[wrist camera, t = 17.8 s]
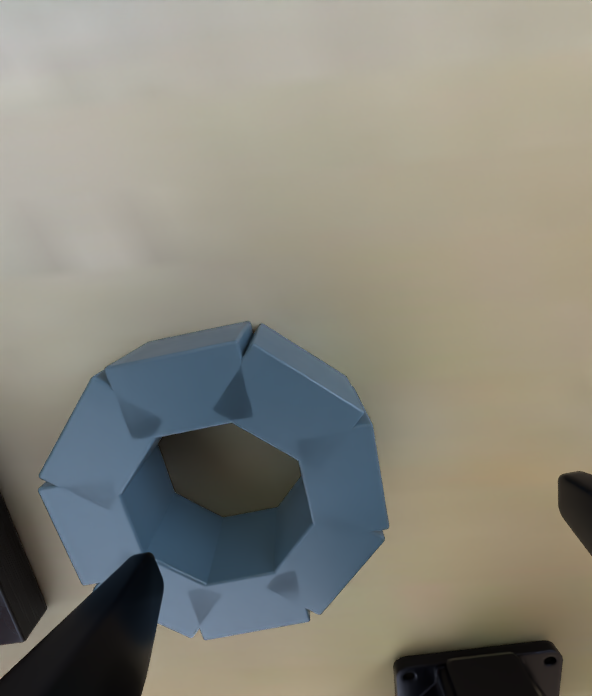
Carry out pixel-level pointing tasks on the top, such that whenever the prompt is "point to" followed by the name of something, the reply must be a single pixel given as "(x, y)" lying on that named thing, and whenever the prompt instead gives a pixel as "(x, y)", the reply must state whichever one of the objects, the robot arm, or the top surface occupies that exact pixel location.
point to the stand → (16, 586)
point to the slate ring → (198, 522)
